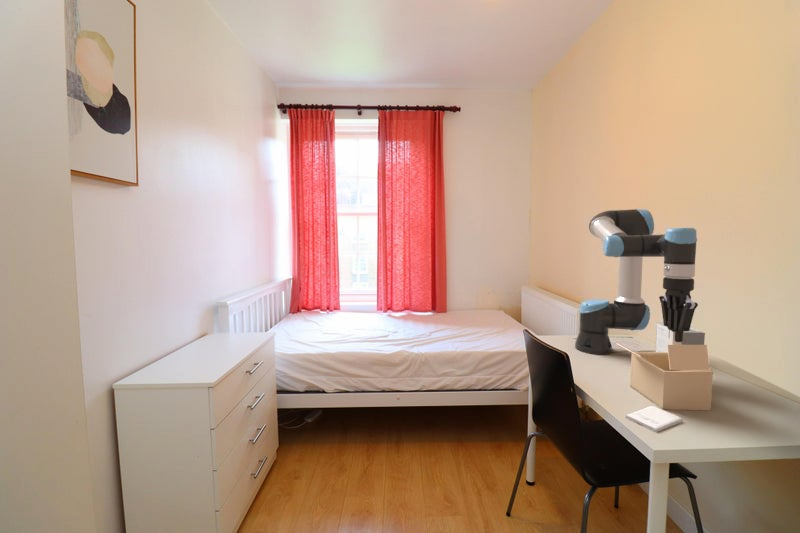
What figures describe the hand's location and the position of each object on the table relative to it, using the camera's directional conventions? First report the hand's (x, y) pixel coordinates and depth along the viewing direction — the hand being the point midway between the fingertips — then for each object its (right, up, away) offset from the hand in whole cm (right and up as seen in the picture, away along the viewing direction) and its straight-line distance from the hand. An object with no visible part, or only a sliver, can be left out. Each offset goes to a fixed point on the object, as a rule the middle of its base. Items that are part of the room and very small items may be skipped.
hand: (674, 350), depth 107 cm
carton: (0, -16, +4) cm, 17 cm away
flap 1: (-10, -2, +3) cm, 11 cm away
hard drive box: (+14, -15, +17) cm, 27 cm away
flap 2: (0, -1, -5) cm, 5 cm away
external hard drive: (-14, -19, -9) cm, 25 cm away
